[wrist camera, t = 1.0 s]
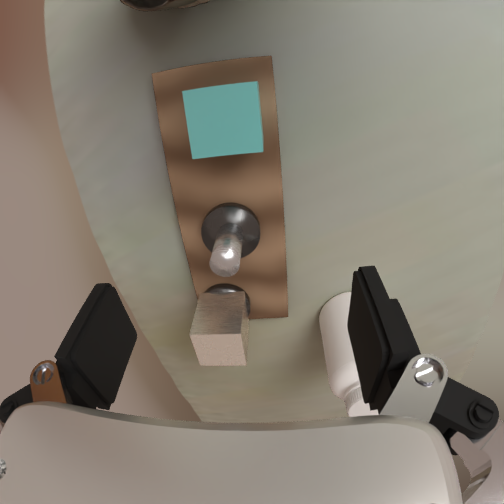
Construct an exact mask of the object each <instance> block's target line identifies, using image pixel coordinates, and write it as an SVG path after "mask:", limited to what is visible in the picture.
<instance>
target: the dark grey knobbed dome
mask: <svg viewBox="0 0 504 504" xmlns="http://www.w3.org/2000/svg"><path fill="white" fill-rule="evenodd" d="M201 236H202V240H203V242H204V244H205V246H206V247H207V248H208V250H209V251H210V252H212V255H211V258H210V268H211V270H212V271H213V272H214V273H215V274H217V275H219V276H222V277H229V276H232V275H234V274H236V273H237V272H238V270H239V266H240V258H243V257H245V256H247V255H249V254H250V253H252V252H253V251H254V250H255V249H256V247H257V245H258V243H259V240H260V223H259V220H258V218H257V216H256V215H255V213H254V212H253V211H252V210H251V209H249V208H248V207H246V206H244V205H242V204H239V203H233V202H228V203H222V204H219V205H217V206H215V207H214V208H212V209H211V210H210V211H209V212H208V213H207V215H206V217H205V219H204V222H203V224H202V228H201Z"/></svg>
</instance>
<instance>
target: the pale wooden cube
mask: <svg viewBox="0 0 504 504" xmlns="http://www.w3.org/2000/svg"><path fill="white" fill-rule="evenodd" d="M250 307H251V301H250V298H249V296H248V294H247V293H246V292H245V291H244V290H243V289H242V288H240V287H238V286H236V285H233V284H228V283H220V284H215V285H213V286H211V287H209V288H208V289H207V290H206V291H205V292H204V293H200V295H199V299H198V303H197V307H196V311H195V315H194V319H193V323H192V327H191V331H190V338H191V340H192V343H193V346H194V349H195V352H196V355H197V357H198V360H199V363H200V365H204V366H234V365H247V350H248V333H249V320H248V316H249V314H250Z"/></svg>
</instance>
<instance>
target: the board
mask: <svg viewBox="0 0 504 504" xmlns="http://www.w3.org/2000/svg"><path fill="white" fill-rule="evenodd" d="M152 79H153V86H154V93H155V100H156V106H157V112H158V118H159V124H160V130H161V136H162V142H163V147H164V153H165V158H166V163H167V169H168V174H169V179H170V184H171V189H172V193H173V198H174V203H175V207H176V212H177V217H178V221H179V226H180V230H181V234H182V239H183V243H184V247H185V251H186V255H187V259H188V264H189V268H190V272H191V276H192V279H193V283H194V287H195V291H196V295H197V299H199V295H200V293H204V292H205V291H206V290H207V289H208V288H209V287H211V286H213V285H215V284H220V283H228V284H233V285H236V286H238V287H240V288H242V289H243V290H244V291H245V292H246V293H247V294H248V296H249V298H250V301H251V307H250V314H249V316H248V319H260V318H279V317H288V297H287V270H286V247H285V226H284V208H283V191H282V175H281V161H280V147H279V134H278V121H277V109H276V98H275V87H274V76H273V66H272V56H261V57H249V58H239V59H231V60H223V61H215V62H209V63H202V64H196V65H191V66H185V67H180V68H175V69H170V70H166V71H161V72H157V73H153V74H152ZM255 81H257V82H258V85H259V95H260V106H261V116H262V127H263V152H257V153H245V154H234V155H225V156H215V157H207V158H199V159H192V153H191V147H190V141H189V134H188V128H187V121H186V114H185V108H184V101H183V93H182V91H186V90H192V89H198V88H205V87H211V86H219V85H226V84H235V83H244V82H255ZM228 202H233V203H239V204H242V205H244V206H246V207H248V208H249V209H251V210H252V211H253V212H254V213H255V215H256V216H257V218H258V220H259V223H260V240H259V243H258V245H257V247H256V249H255V250H254V251H253V252H252V253H250V254H249V255H247V256H245V257H243V258H240V266H239V270H238V272H237V273H236V274H234V275H232V276H229V277H222V276H219V275H217V274H215V273H214V272H213V271H212V270H211V268H210V258H211V255H212V252H210V251H209V250H208V248H207V247H206V246H205V244H204V242H203V240H202V236H201V228H202V224H203V222H204V219H205V217H206V215H207V213H208V212H209V211H210V210H211V209H212V208H214V207H215V206H217V205H219V204H222V203H228Z"/></svg>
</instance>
